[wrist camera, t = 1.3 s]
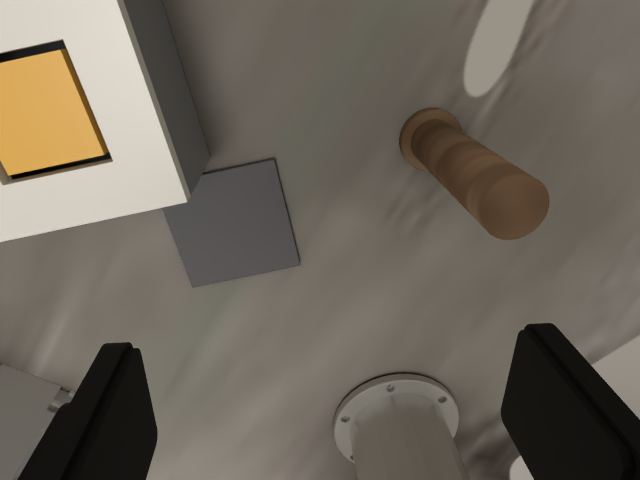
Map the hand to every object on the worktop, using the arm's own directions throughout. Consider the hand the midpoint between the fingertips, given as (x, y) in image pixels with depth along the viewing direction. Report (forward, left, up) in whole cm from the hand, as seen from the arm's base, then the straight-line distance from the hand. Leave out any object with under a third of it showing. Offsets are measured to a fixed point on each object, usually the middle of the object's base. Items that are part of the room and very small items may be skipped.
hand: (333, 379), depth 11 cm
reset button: (+6, +13, -20) cm, 24 cm away
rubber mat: (-5, +7, -24) cm, 26 cm away
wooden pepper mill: (-2, -9, -24) cm, 26 cm away
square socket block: (+6, +13, -24) cm, 28 cm away
